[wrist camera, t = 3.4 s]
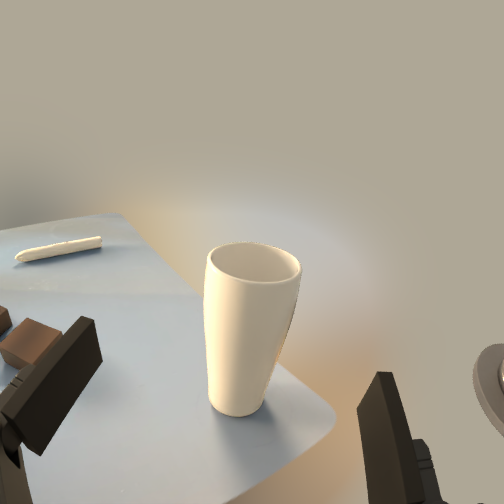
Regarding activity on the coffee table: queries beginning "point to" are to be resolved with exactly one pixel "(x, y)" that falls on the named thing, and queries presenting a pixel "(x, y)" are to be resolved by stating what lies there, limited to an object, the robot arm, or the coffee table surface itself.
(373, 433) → the robot arm
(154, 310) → the coffee table surface
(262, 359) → the drinking glass
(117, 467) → the coffee table surface
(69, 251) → the marker
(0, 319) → the walnut block far
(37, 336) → the walnut block near
